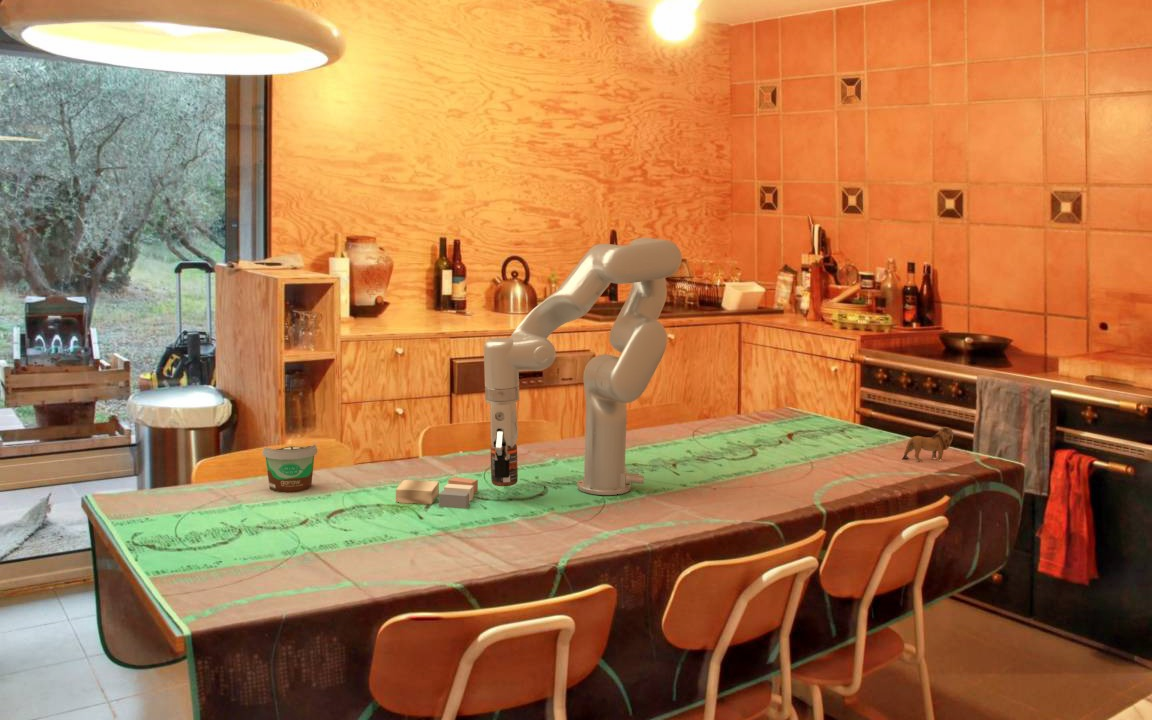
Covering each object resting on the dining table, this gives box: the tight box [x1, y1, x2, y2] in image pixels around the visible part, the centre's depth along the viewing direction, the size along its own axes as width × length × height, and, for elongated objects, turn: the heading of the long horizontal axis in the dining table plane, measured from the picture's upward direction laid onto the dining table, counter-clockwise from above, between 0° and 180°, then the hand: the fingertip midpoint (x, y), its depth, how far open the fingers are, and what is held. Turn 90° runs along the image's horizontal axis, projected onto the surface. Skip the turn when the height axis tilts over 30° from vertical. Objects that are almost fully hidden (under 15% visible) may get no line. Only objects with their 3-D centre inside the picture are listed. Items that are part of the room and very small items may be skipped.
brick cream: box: [443, 483, 474, 502], centre depth 237 cm, size 6×3×3 cm, turn 81°
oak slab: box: [395, 479, 440, 505], centre depth 236 cm, size 8×8×3 cm
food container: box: [261, 441, 319, 494], centre depth 239 cm, size 12×6×10 cm, turn 117°
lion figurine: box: [901, 426, 954, 462], centre depth 284 cm, size 15×5×9 cm, turn 105°
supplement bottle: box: [490, 434, 519, 487], centre depth 236 cm, size 6×6×11 cm
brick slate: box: [438, 489, 470, 510], centre depth 232 cm, size 6×3×3 cm, turn 81°
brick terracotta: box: [447, 476, 479, 495], centre depth 242 cm, size 6×3×3 cm, turn 71°
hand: (504, 472), depth 237 cm, fingers closed on supplement bottle, 6 cm apart
